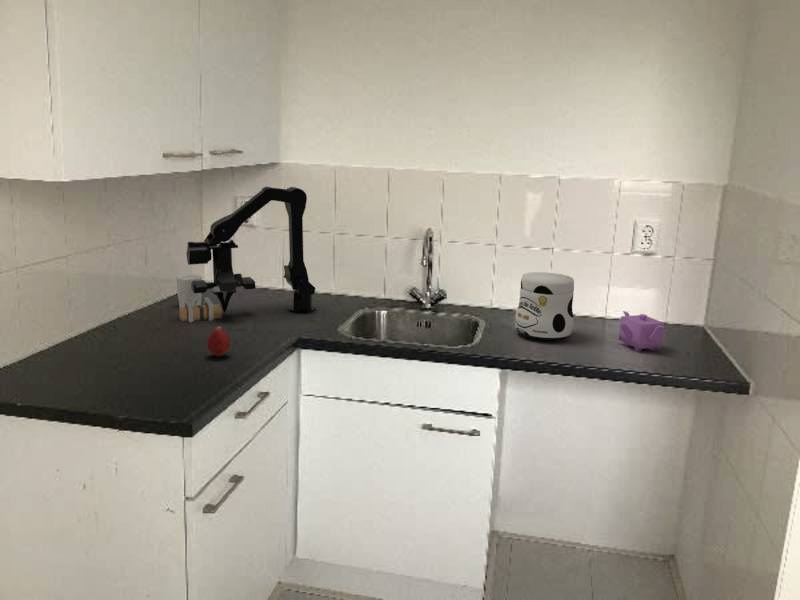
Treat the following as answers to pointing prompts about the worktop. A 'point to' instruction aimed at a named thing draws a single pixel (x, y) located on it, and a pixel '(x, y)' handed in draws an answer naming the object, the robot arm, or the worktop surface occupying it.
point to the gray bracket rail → (190, 306)
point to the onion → (218, 342)
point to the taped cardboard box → (200, 312)
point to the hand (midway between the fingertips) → (224, 311)
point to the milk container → (545, 306)
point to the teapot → (641, 332)
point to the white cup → (187, 289)
